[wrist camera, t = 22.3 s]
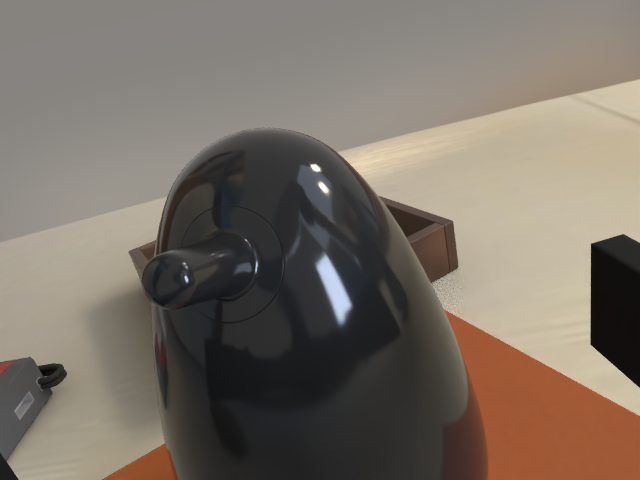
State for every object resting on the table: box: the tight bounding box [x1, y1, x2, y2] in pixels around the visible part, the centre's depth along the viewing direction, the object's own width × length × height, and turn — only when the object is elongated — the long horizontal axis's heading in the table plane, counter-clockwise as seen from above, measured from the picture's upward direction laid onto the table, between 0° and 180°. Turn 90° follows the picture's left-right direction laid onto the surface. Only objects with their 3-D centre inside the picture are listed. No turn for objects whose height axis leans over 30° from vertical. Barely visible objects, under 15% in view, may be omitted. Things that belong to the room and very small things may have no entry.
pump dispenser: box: [142, 128, 488, 480], centre depth 16 cm, size 10×10×15 cm
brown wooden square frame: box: [129, 196, 458, 282], centre depth 38 cm, size 18×18×4 cm
